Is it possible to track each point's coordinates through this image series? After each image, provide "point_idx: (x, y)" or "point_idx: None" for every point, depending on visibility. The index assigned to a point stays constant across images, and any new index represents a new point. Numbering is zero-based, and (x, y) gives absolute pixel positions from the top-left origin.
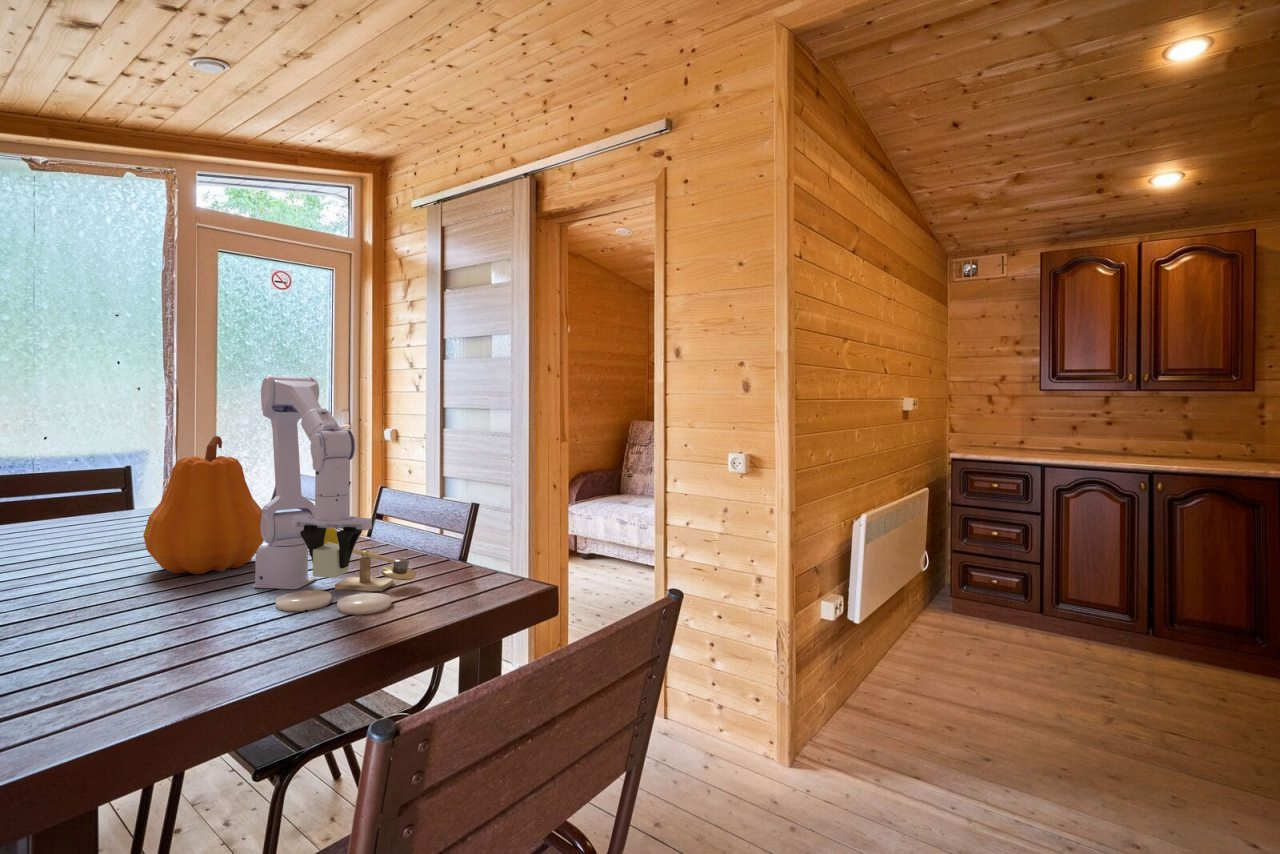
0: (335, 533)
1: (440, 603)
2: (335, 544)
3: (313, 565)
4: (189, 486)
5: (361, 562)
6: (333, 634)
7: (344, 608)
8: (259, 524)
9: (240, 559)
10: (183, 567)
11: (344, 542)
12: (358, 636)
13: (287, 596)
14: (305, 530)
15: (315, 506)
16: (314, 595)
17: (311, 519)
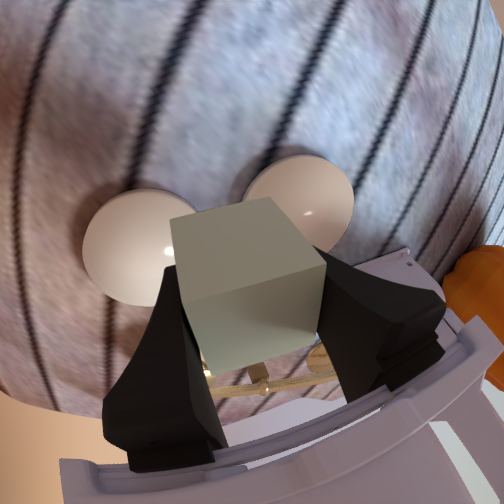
0: None
1: (36, 319)
2: (334, 377)
3: (286, 219)
4: None
5: (261, 367)
6: (71, 53)
7: (153, 194)
8: None
9: None
10: (476, 251)
11: (144, 363)
12: (12, 78)
13: (339, 211)
14: (427, 334)
15: (466, 491)
16: None
17: (447, 405)
